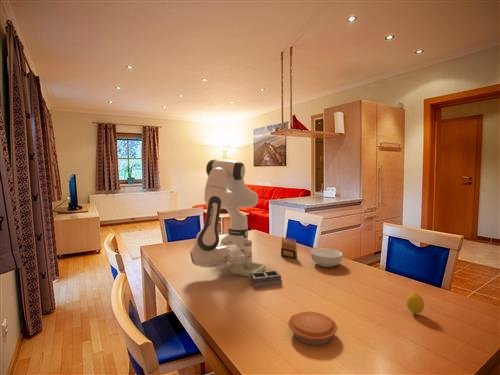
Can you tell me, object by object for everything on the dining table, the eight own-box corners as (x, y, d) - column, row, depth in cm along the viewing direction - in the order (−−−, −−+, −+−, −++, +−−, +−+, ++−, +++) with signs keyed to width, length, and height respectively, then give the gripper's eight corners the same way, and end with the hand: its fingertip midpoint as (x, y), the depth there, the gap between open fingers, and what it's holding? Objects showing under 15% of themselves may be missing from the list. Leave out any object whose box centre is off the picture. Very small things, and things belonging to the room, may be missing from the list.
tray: (230, 273, 145) (230, 267, 145) (242, 265, 156) (242, 260, 155) (254, 278, 138) (254, 272, 138) (265, 270, 149) (265, 265, 148)
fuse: (242, 268, 146) (242, 241, 145) (246, 265, 150) (246, 239, 149) (249, 269, 144) (249, 242, 143) (253, 266, 148) (253, 240, 146)
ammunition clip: (297, 258, 166) (297, 238, 165) (295, 259, 164) (295, 239, 163) (282, 255, 173) (282, 236, 172) (280, 255, 172) (280, 236, 171)
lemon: (407, 308, 107) (408, 288, 107) (424, 313, 104) (425, 292, 103) (404, 314, 103) (405, 293, 102) (422, 319, 99) (423, 297, 99)
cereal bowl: (344, 271, 145) (344, 258, 145) (311, 269, 149) (311, 256, 148) (340, 260, 162) (340, 248, 161) (310, 259, 165) (310, 247, 165)
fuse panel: (254, 288, 127) (254, 279, 127) (249, 280, 136) (249, 272, 135) (281, 284, 130) (281, 276, 130) (275, 277, 139) (275, 269, 139)
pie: (328, 320, 100) (328, 307, 100) (344, 349, 84) (344, 333, 84) (285, 322, 100) (284, 308, 99) (292, 351, 84) (292, 335, 84)
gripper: (226, 255, 133) (255, 252, 136) (220, 243, 152) (244, 241, 156) (227, 268, 133) (255, 265, 137) (220, 254, 153) (245, 252, 156)
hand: (249, 252), depth 146 cm, fingers closed on fuse, 4 cm apart
